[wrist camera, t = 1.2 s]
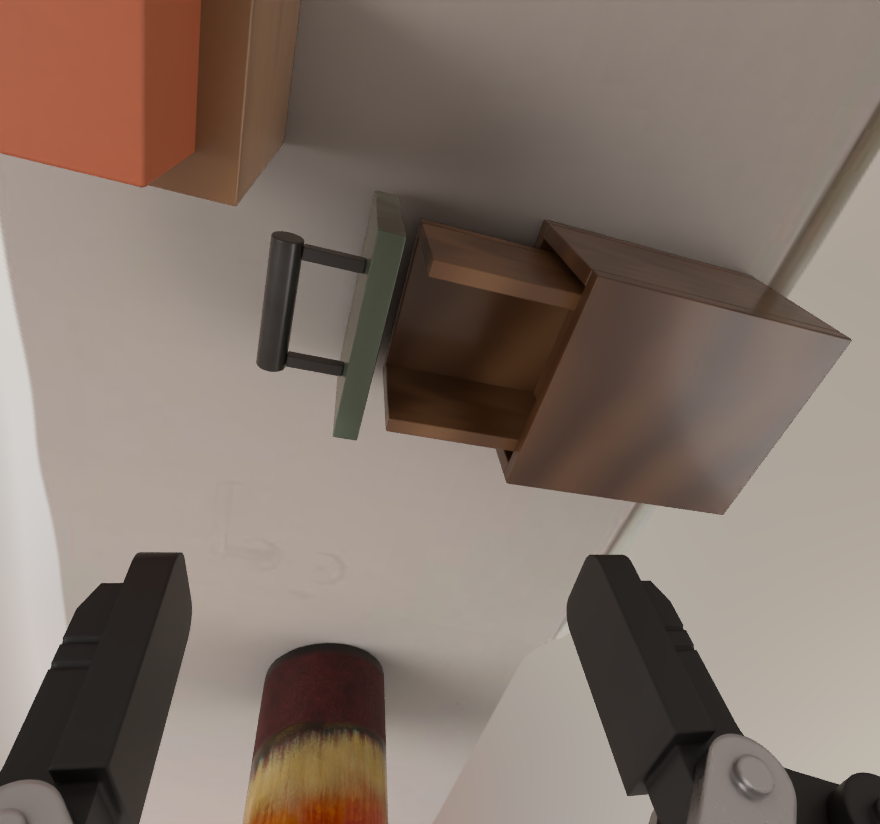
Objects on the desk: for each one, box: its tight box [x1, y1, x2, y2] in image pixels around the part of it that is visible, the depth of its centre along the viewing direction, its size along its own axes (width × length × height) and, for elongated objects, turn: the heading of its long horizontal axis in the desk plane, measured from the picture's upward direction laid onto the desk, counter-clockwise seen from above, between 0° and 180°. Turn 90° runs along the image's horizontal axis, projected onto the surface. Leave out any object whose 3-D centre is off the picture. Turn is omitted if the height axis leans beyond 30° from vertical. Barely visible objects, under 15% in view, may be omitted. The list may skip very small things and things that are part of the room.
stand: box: [148, 0, 301, 206], centre depth 19 cm, size 7×7×12 cm
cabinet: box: [496, 220, 851, 515], centre depth 31 cm, size 14×12×9 cm
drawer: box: [256, 190, 585, 451], centre depth 29 cm, size 17×10×7 cm, turn 74°
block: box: [0, 0, 201, 187], centre depth 13 cm, size 4×4×4 cm
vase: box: [243, 644, 388, 824], centre depth 44 cm, size 11×11×20 cm
